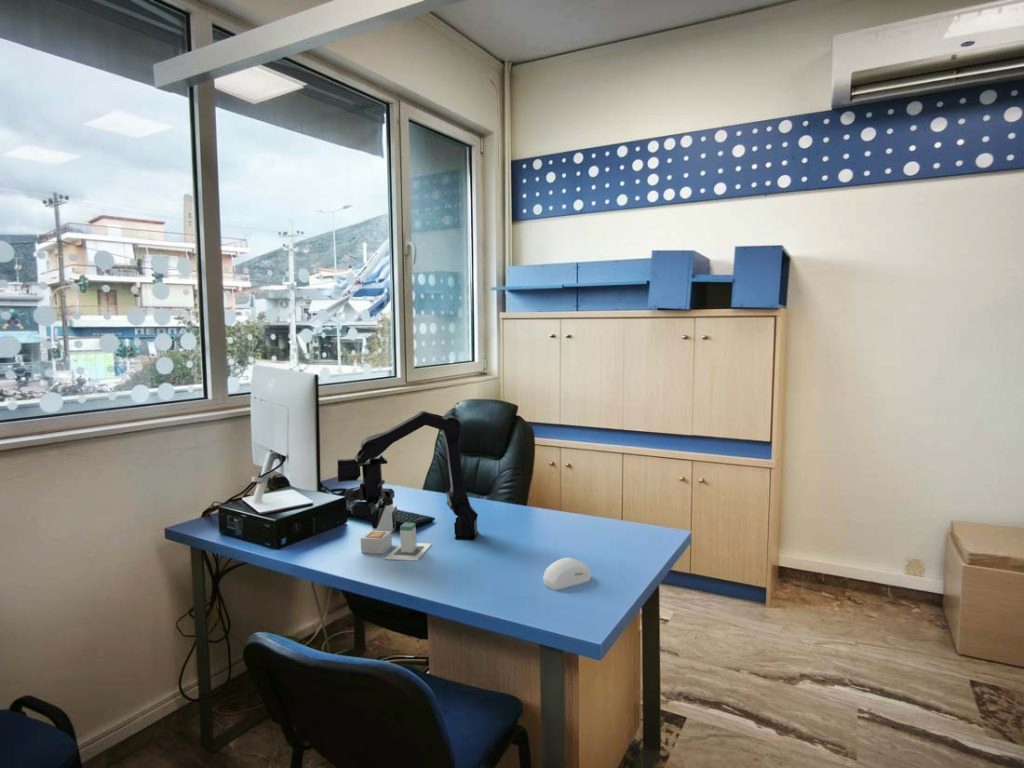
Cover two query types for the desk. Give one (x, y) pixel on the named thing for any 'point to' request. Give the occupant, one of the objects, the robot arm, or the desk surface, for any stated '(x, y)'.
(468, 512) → the robot arm
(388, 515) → the medicine bottle
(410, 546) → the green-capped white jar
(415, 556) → the white grey rectangular pad
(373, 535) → the button
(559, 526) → the desk surface
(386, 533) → the button housing
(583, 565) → the computer mouse
